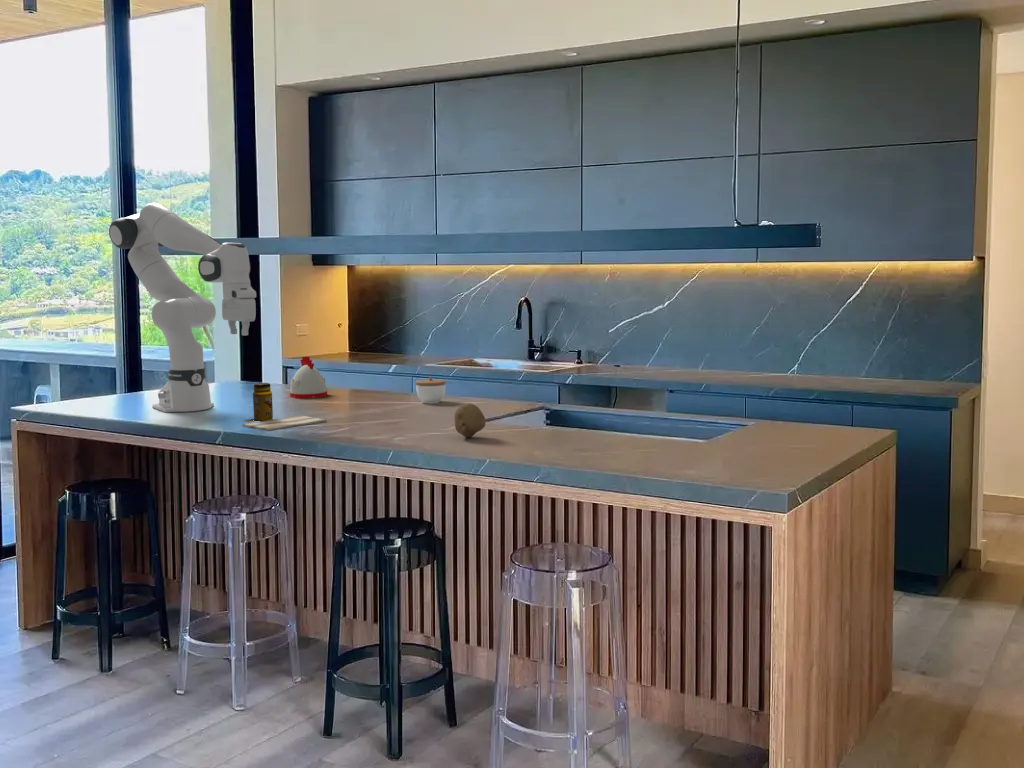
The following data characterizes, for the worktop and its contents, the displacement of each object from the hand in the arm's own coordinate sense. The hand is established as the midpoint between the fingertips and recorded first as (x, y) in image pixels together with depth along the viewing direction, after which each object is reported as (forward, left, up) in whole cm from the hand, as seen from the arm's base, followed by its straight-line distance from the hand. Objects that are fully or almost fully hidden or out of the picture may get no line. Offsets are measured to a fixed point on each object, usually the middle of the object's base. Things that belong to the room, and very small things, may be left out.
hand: (239, 334), depth 341 cm
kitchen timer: (-27, +46, -28) cm, 60 cm away
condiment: (+9, +1, -28) cm, 29 cm away
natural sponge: (+85, +21, -28) cm, 92 cm away
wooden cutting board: (+21, +2, -28) cm, 35 cm away
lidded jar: (+23, +63, -28) cm, 72 cm away
